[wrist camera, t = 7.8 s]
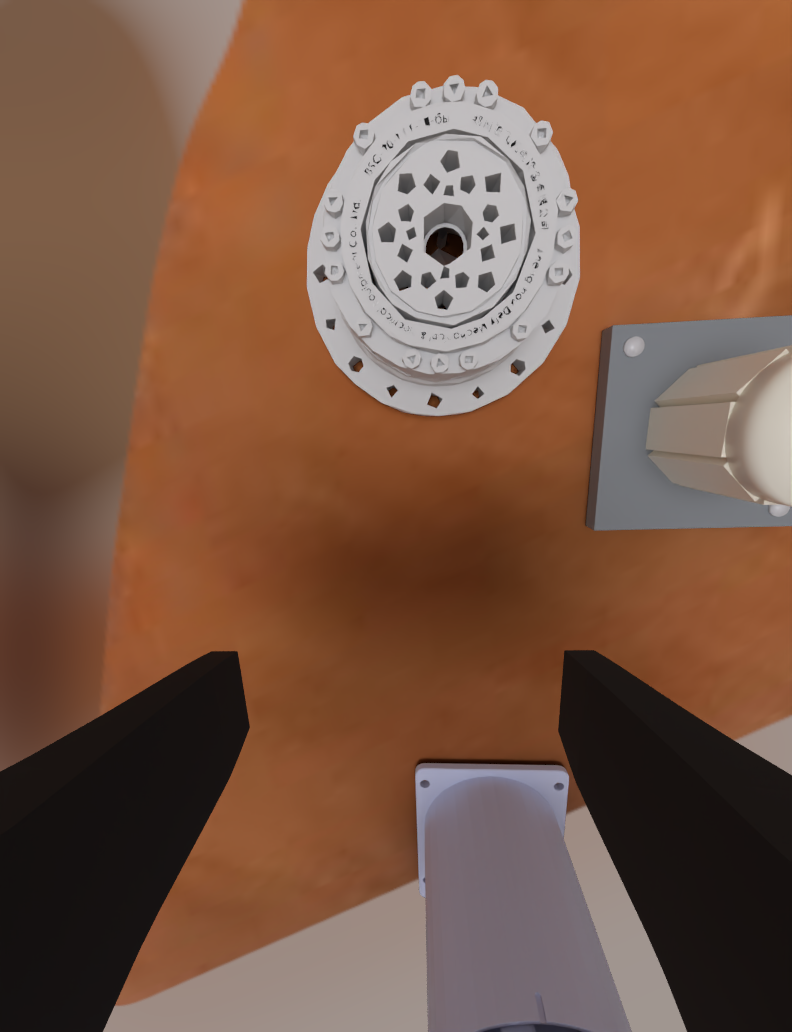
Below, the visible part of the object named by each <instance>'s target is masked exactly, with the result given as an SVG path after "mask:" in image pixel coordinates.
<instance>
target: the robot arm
mask: <svg viewBox="0 0 792 1032" xmlns="http://www.w3.org/2000/svg"><path fill="white" fill-rule="evenodd" d="M249 728H250V726H249V720H248V714H247V708H246V701H245V695H244V689H243V683H242V676H241V670H240V664H239V658H238V652H237V651H212V652H210V653H208V654H205V655H203V656H201V657H200V658H198V659H196V660H194V661H192V662H191V663H189V664H187V665H185V666H184V667H182V668H180V669H178V670H177V671H175V672H173V673H172V674H170V675H168V676H167V677H165V678H163V679H162V680H160V681H158V682H157V683H155V684H153V685H152V686H150V687H148V688H147V689H145V690H143V691H142V692H140V693H138V694H137V695H135V696H133V697H132V698H130V699H128V700H127V701H125V702H123V703H122V704H120V705H118V706H117V707H115V708H113V709H112V710H110V711H108V712H107V713H105V714H103V715H101V716H100V717H98V718H96V719H94V720H93V721H91V722H89V723H87V724H86V725H84V726H82V727H80V728H79V729H77V730H75V731H73V732H71V733H70V734H68V735H66V736H64V737H63V738H61V739H59V740H57V741H56V742H54V743H52V744H50V745H49V746H47V747H45V748H43V749H41V750H40V751H38V752H37V753H34V754H33V755H31V756H29V757H27V758H25V759H23V760H22V761H20V762H18V763H16V764H14V765H12V766H10V767H8V768H6V769H5V770H3V771H1V772H0V1032H103V1030H104V1028H105V1026H106V1023H107V1021H108V1019H109V1017H110V1015H111V1012H112V1010H113V1008H114V1006H115V1004H116V1001H117V999H118V997H119V995H120V992H121V990H122V988H123V986H124V983H125V981H126V979H127V977H128V975H129V972H130V970H131V968H132V966H133V963H134V961H135V959H136V957H137V955H138V952H139V950H140V948H141V946H142V944H143V942H144V940H145V938H146V936H147V934H148V932H149V930H150V928H151V926H152V924H153V922H154V920H155V918H156V916H157V914H158V912H159V910H160V908H161V906H162V904H163V903H164V901H165V899H166V897H167V895H168V893H169V891H170V890H171V888H172V886H173V884H174V882H175V880H176V878H177V876H178V875H179V873H180V871H181V869H182V867H183V865H184V863H185V861H186V860H187V858H188V856H189V854H190V852H191V850H192V848H193V846H194V845H195V843H196V841H197V839H198V837H199V835H200V833H201V832H202V830H203V828H204V826H205V824H206V822H207V820H208V818H209V816H210V815H211V813H212V811H213V809H214V807H215V805H216V803H217V801H218V799H219V797H220V796H221V794H222V792H223V790H224V788H225V786H226V784H227V782H228V780H229V778H230V776H231V774H232V771H233V769H234V766H235V764H236V761H237V759H238V757H239V754H240V752H241V749H242V746H243V744H244V741H245V738H246V736H247V733H248V731H249ZM558 731H559V734H560V737H561V740H562V743H563V746H564V749H565V752H566V755H567V758H568V761H569V764H570V767H571V770H572V772H573V775H574V778H575V781H576V783H577V786H578V788H579V790H580V792H581V794H582V797H583V799H584V801H585V803H586V805H587V807H588V810H589V812H590V814H591V816H592V818H593V820H594V823H595V825H596V827H597V829H598V831H599V833H600V835H601V837H602V840H603V842H604V844H605V846H606V848H607V850H608V852H609V854H610V856H611V859H612V861H613V863H614V865H615V867H616V869H617V871H618V874H619V875H620V877H621V880H622V882H623V884H624V886H625V888H626V890H627V893H628V895H629V897H630V899H631V901H632V903H633V905H634V907H635V910H636V911H637V914H638V916H639V918H640V920H641V922H642V924H643V927H644V929H645V931H646V933H647V935H648V937H649V940H650V942H651V944H652V947H653V949H654V951H655V953H656V956H657V958H658V960H659V962H660V965H661V967H662V969H663V972H664V974H665V976H666V979H667V981H668V984H669V986H670V989H671V991H672V994H673V996H674V999H675V1001H676V1004H677V1007H678V1009H679V1012H680V1014H681V1017H682V1019H683V1022H684V1024H685V1027H686V1030H687V1032H792V775H790V774H789V773H787V772H785V771H784V770H782V769H780V768H778V767H777V766H775V765H774V764H772V763H770V762H769V761H767V760H765V759H764V758H762V757H760V756H759V755H757V754H755V753H754V752H752V751H750V750H749V749H747V748H745V747H744V746H742V745H740V744H739V743H737V742H736V741H734V740H732V739H731V738H729V737H728V736H726V735H724V734H723V733H721V732H720V731H718V730H716V729H715V728H713V727H712V726H710V725H708V724H707V723H705V722H704V721H702V720H701V719H699V718H697V717H696V716H694V715H693V714H691V713H690V712H688V711H687V710H685V709H684V708H682V707H681V706H679V705H677V704H676V703H674V702H673V701H671V700H670V699H668V698H667V697H665V696H664V695H662V694H661V693H659V692H658V691H656V690H655V689H653V688H652V687H650V686H649V685H647V684H646V683H644V682H643V681H641V680H640V679H638V678H637V677H635V676H634V675H632V674H631V673H629V672H628V671H626V670H625V669H623V668H622V667H620V666H619V665H617V664H615V663H614V662H612V661H611V660H609V659H608V658H606V657H604V656H603V655H601V654H599V653H598V652H596V651H594V650H574V651H564V663H563V676H562V689H561V702H560V715H559V728H558ZM422 780H427V781H422ZM415 782H416V811H417V840H418V869H419V892H420V894H421V895H422V896H423V897H424V898H426V951H427V1001H428V1002H427V1004H428V1032H632V1031H631V1028H630V1025H629V1022H628V1020H627V1017H626V1014H625V1011H624V1008H623V1005H622V1003H621V1000H620V997H619V994H618V991H617V989H616V986H615V983H614V980H613V977H612V974H611V972H610V969H609V966H608V963H607V960H606V958H605V955H604V952H603V949H602V946H601V943H600V941H599V938H598V935H597V932H596V929H595V926H594V924H593V921H592V918H591V915H590V912H589V909H588V907H587V904H586V901H585V898H584V895H583V893H582V890H581V887H580V884H579V882H578V878H577V876H576V873H575V870H574V867H573V864H572V861H571V859H570V856H569V853H568V850H567V847H566V845H565V842H564V830H565V818H566V807H567V796H568V785H569V775H568V773H567V771H566V769H565V768H564V767H562V766H559V765H515V764H454V763H421V764H419V765H418V766H417V767H416V770H415ZM556 783H557V784H556Z"/></svg>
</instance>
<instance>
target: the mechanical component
mask: <svg viewBox="0 0 792 1032" xmlns="http://www.w3.org/2000/svg"><path fill="white" fill-rule="evenodd" d="M552 134H553V131H552V129H551V126H550V123H549V122H547V121H539V122H538V123H535V121H534V120H533V119H532V118H531V116H530V115H529V114H528V113H527V111H526V110H525V109H524V108H523V107H521V106H519V105H517V104H515V103H512V102H510V101H508V100H506V99H504V98H502V97H500V96H498V87H497V86H496V84H495V83H494V82H493V81H490V80H485V81H483V82H482V83H480V85H479V87H465V85H464V81H463V79H462V78H460V77H459V76H458V75H455V76H450V77H449V78H448V79H447V81H446V82H445V83H444V86H441V87H437V88H434V89H431V88H430V87H429V86H428V85H427V84H426V83H425V81H419V82H417V83H416V84H415V85H414V86H412V90H411V95H408V96H405V97H402V98H401V99H399V100H398V101H397V102H395V103H394V104H393V105H391V106H390V107H389V108H387V109H386V110H385V111H384V112H382V113H381V114H380V115H378V116H377V117H376V118H374V119H373V120H372V121H370V122H369V123H368V124H367V123H361V124H359V125H357V126H356V130H355V133H354V136H353V137H354V142H353V143H352V145H351V146H350V147H349V148H348V150H347V152H346V154H345V156H344V158H343V160H342V162H341V164H340V166H339V168H338V170H337V172H336V173H335V175H334V176H333V178H332V179H331V180H330V182H329V183H328V185H327V187H326V189H325V192H324V194H323V197H322V199H321V201H320V204H319V206H318V208H317V211H316V213H315V215H314V219H313V224H312V229H311V234H310V238H309V243H308V248H307V290H308V294H309V298H310V302H311V306H312V311H313V315H314V319H315V323H316V327H317V329H318V331H319V333H320V335H321V337H322V339H323V341H324V343H325V345H326V346H327V348H328V350H329V352H330V354H331V356H332V358H333V360H334V362H335V364H336V365H337V366H338V367H339V368H340V369H341V370H342V371H343V372H344V373H345V374H346V375H347V376H348V377H349V378H350V379H351V380H352V381H353V382H354V383H355V384H356V385H357V386H359V387H360V388H361V389H363V390H364V391H366V392H367V393H368V394H370V395H371V396H373V397H374V398H376V399H377V400H378V401H380V402H381V403H383V404H385V405H388V406H390V407H392V408H395V409H397V410H399V411H402V412H404V413H410V414H416V415H422V416H444V415H456V414H462V413H466V412H470V411H473V410H475V409H477V408H480V407H482V406H484V405H486V404H489V403H491V402H493V401H495V400H497V399H499V398H501V397H503V396H506V395H508V394H509V393H510V392H511V391H512V390H513V389H514V388H516V387H517V386H518V385H519V384H520V383H521V382H522V381H523V380H525V379H526V378H527V377H528V376H529V375H530V374H531V373H532V372H533V371H535V370H536V369H537V368H538V367H539V366H540V365H541V364H542V363H543V362H544V361H545V359H546V357H547V356H548V354H549V352H550V351H551V349H552V347H553V346H554V344H555V343H556V341H557V339H558V338H559V336H560V334H561V333H562V331H563V329H564V328H565V326H566V324H567V321H568V318H569V314H570V310H571V307H572V303H573V300H574V296H575V293H576V289H577V286H578V282H579V279H580V226H579V223H578V220H577V217H576V213H575V210H574V208H575V206H576V204H577V202H578V198H577V195H576V191H575V190H573V189H571V188H570V182H569V176H568V173H567V171H566V169H565V166H564V164H563V161H562V159H561V156H560V154H559V151H558V150H557V149H556V147H555V146H554V145H553V144H552V142H551V141H550V140H551V137H552ZM433 233H438V237H437V243H436V246H437V247H438V249H437V250H436V251H435V252H434V253H433V254H432V255H431V256H429V255H428V254H426V244H427V240H428V239H429V237H430V235H431V234H433ZM448 233H450V234H455V235H458V236H460V237H462V240H463V244H464V252H463V254H462V255H461V256H459V257H458V258H456V257H454V256H452V255H450V254H448V253H446V252H444V251H442V250H440V249H442V248H443V247H445V245H446V240H447V234H448ZM442 239H443V240H442ZM443 265H445V266H443ZM373 276H374V283H373ZM323 277H327V278H328V280H325V281H323ZM322 281H323V282H322ZM376 286H377V288H376ZM407 286H408V287H409V288H407V289H405V288H406V287H407ZM425 287H426V288H428V289H426V288H425ZM399 289H401V291H399ZM483 290H484V291H483ZM485 291H486V292H485ZM503 298H504V299H503ZM502 300H503V301H502ZM443 306H445V307H446V309H447V310H445V309H438V307H443ZM334 325H335V330H333V326H334ZM543 329H544V330H543ZM360 360H361V361H362V362H363V367H362V369H361V370H360V371H359V372H355V371H354V368H353V366H354V365H355V364H356V363H358V362H359V361H360ZM512 363H513V364H514V366H515V367H516V368H517V370H518V371H519V372H518V373H517V375H516V374H514V373H512V372H511V364H512ZM392 388H395V389H396V390H398V391H397V392H396V393H395V394H394V396H393V397H392V398H391V396H390V394H389V390H390V389H392ZM475 390H478V393H479V398H476V397H475V396H473V395H472V393H473V392H474V391H475ZM430 396H437V397H439V401H440V404H439V406H438V407H437V408H434V407H432V406H429V405H427V403H428V401H429V398H430Z"/></svg>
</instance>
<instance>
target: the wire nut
mask: <svg viewBox="0 0 792 1032" xmlns="http://www.w3.org/2000/svg"><path fill="white" fill-rule="evenodd" d="M655 402H656V403H657V404H658V405H659V407H657V408H651V409H650V417H649V425H648V433H647V441H646V449H647V450H653V451H652V452H651V453H650V454H649V455H648V457H649V458H650V459H651V460H652V461H653V462H654V463H655V465H656V466H657V467H658V468H659V469H660V470H661V471H662V472H663V473H664V474H665V475H666V476H667V477H668V479H669V480H670V481H671V482H672V483H675V484H679V486H684V487H688V488H692V489H697V490H701V491H705V492H710V493H714V494H719V495H723V496H727V497H732V498H736V499H740V500H745V501H749V502H753V503H758V504H762V505H786V506H791V507H792V345H790V346H786V347H781V348H776V349H772V350H767V351H762V352H758V353H753V354H748V355H743V356H739V357H734V358H729V359H725V360H720V361H715V362H711V363H706V364H701V365H697V367H695V368H690V369H688V370H687V371H686V372H685V373H684V374H683V375H682V376H681V377H680V378H679V379H678V380H677V381H675V382H674V383H673V384H672V385H671V386H670V387H669V388H668V389H667V390H666V391H665V392H664V393H662V394H661V395H660V396H659V397H658V398H657V399H656V400H655Z"/></svg>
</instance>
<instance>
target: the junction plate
mask: <svg viewBox="0 0 792 1032" xmlns="http://www.w3.org/2000/svg"><path fill="white" fill-rule="evenodd" d="M790 345H792V316H774V317H756V318H739V319H721V320H703V321H685V322H667V323H650V324H632V325H614V326H611V327H609V328H607V329H605V330H603V331H602V341H601V353H600V365H599V377H598V388H597V400H596V412H595V423H594V435H593V447H592V459H591V470H590V482H589V494H588V505H587V517H586V526H587V527H589V528H591V529H593V530H636V529H680V528H725V527H769V526H792V507H791V506H786V505H762V504H758V503H753V502H749V501H745V500H740V499H736V498H732V497H727V496H723V495H719V494H714V493H710V492H705V491H701V490H697V489H692V488H688V487H684V486H679V484H675V483H672V482H671V481H670V480H669V479H668V477H667V476H666V475H665V474H664V473H663V472H662V471H661V470H660V469H659V468H658V467H657V466H656V465H655V463H654V462H653V461H652V460H651V459H650V458H649V457H648V455H649V454H650V453H651V452H652V451H653V450H647V449H646V441H647V433H648V425H649V417H650V409H651V408H657V407H659V405H658V404H657V403H656V402H655V400H656V399H657V398H658V397H659V396H660V395H661V394H662V393H664V392H665V391H666V390H667V389H668V388H669V387H670V386H671V385H672V384H673V383H674V382H675V381H677V380H678V379H679V378H680V377H681V376H682V375H683V374H684V373H685V372H686V371H687V370H688V369H690V368H695V367H697V365H701V364H706V363H711V362H715V361H720V360H725V359H729V358H734V357H739V356H743V355H748V354H753V353H758V352H762V351H767V350H772V349H776V348H781V347H786V346H790Z"/></svg>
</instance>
